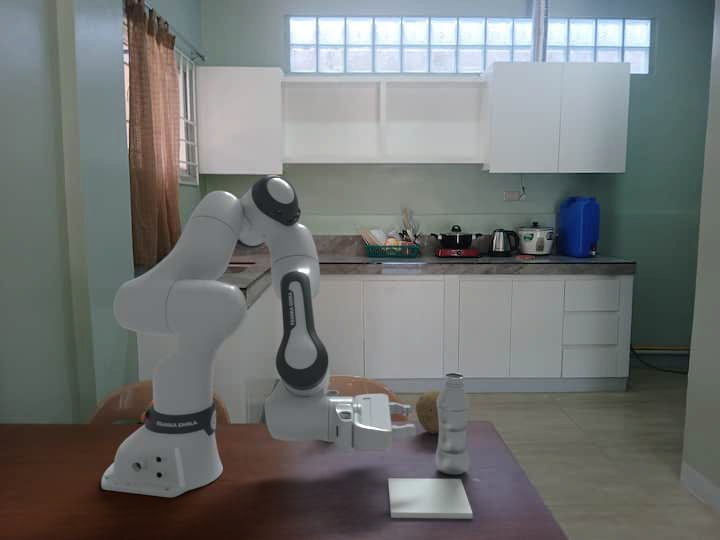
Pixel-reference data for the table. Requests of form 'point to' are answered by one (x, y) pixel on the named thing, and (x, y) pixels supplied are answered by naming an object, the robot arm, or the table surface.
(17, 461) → the table surface
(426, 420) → the natural sponge
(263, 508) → the table surface
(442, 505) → the bottle pad
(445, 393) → the plastic bottle
